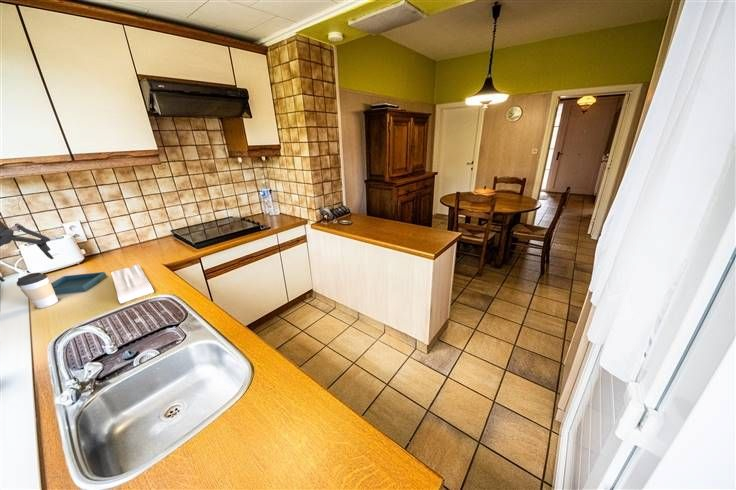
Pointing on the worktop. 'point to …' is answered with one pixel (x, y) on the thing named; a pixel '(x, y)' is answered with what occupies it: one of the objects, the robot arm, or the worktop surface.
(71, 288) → the tray
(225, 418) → the worktop surface
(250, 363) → the worktop surface
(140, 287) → the hand towel
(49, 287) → the coffee cup
